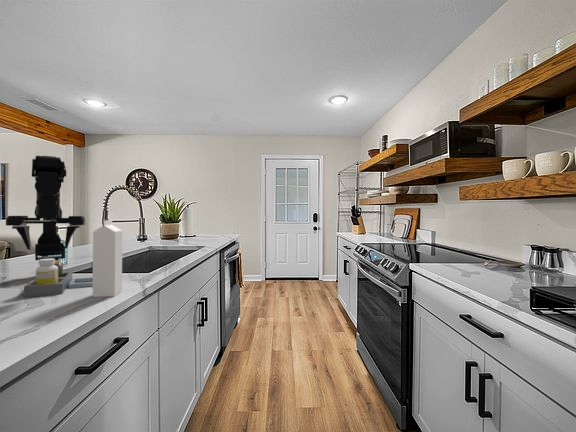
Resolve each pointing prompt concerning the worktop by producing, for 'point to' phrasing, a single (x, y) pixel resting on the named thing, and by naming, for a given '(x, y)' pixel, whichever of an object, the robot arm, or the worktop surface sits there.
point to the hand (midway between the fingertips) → (48, 249)
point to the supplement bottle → (47, 272)
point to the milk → (107, 260)
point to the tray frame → (73, 284)
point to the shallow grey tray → (52, 288)
